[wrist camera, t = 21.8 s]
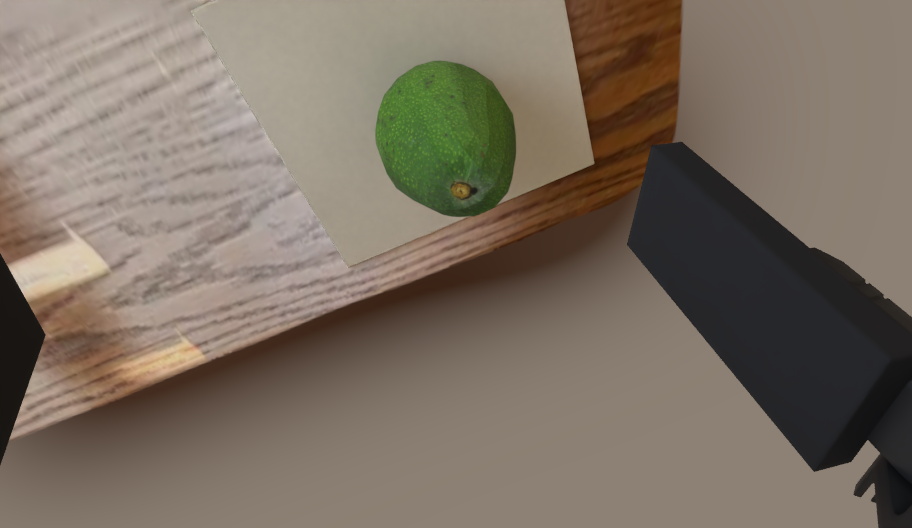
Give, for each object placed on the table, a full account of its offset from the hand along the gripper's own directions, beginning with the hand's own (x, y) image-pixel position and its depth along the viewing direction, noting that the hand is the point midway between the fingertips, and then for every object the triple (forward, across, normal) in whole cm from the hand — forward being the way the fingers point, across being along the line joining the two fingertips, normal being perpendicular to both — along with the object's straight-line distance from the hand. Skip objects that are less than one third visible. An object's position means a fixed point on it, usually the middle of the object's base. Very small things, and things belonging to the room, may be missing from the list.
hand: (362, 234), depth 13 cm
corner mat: (+26, +7, -8) cm, 28 cm away
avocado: (+26, +7, -8) cm, 28 cm away
